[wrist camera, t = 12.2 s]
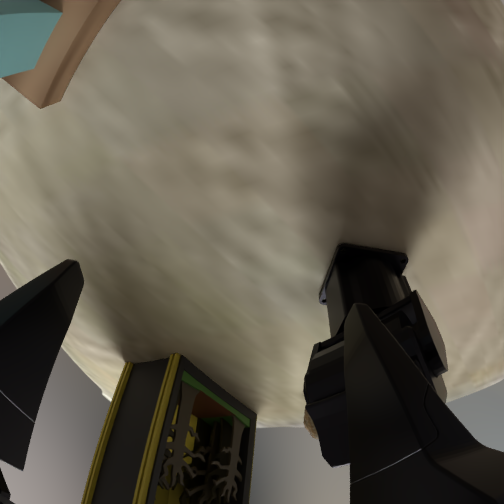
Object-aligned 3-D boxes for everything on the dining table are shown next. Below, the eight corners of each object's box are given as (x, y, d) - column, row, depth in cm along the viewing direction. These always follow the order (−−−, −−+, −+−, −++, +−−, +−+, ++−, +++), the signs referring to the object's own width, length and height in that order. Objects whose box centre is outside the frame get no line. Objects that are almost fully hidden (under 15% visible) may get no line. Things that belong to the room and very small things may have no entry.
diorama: (258, 415, 44) (242, 580, 20) (206, 420, 48) (183, 566, 24) (179, 352, 34) (127, 587, 10) (124, 362, 38) (69, 551, 14)
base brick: (121, -1, 13) (102, -5, 11) (60, 101, 17) (40, 108, 15) (50, -34, 9) (31, -36, 7) (3, 57, 14) (-17, 62, 12)
